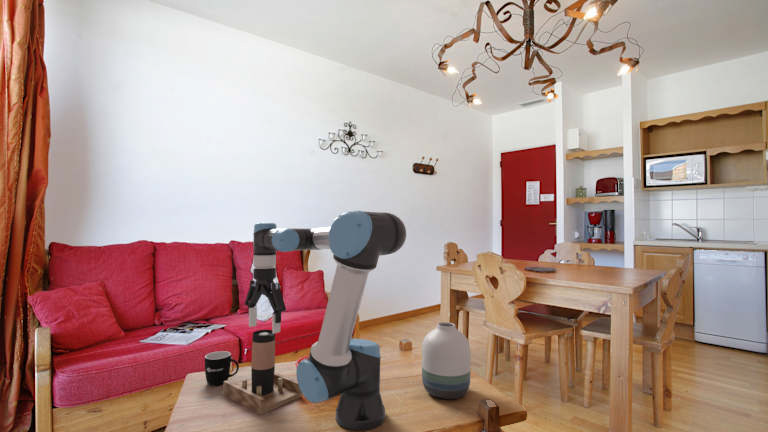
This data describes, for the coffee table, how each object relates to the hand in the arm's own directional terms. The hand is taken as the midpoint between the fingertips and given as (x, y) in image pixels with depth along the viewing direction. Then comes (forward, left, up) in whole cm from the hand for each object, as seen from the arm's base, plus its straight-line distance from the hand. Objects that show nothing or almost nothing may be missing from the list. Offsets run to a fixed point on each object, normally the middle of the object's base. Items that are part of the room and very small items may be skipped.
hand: (264, 329), depth 130 cm
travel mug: (0, 0, -21) cm, 21 cm away
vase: (-48, -42, -23) cm, 68 cm away
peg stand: (0, 0, -23) cm, 23 cm away
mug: (+21, +3, -23) cm, 31 cm away
